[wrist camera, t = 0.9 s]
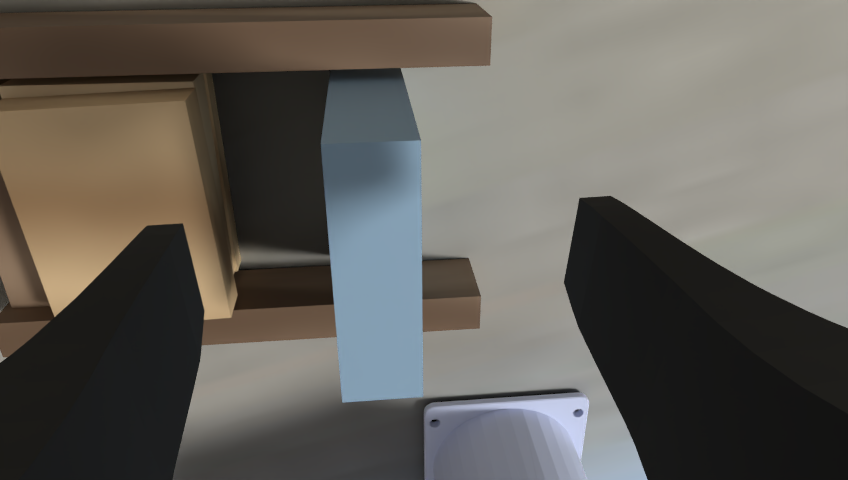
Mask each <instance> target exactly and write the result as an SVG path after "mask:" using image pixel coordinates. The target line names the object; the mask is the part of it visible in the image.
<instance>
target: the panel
mask: <svg viewBox="0 0 848 480" xmlns="http://www.w3.org/2000/svg"><path fill="white" fill-rule="evenodd" d="M321 154H322V166H323V178H324V190H325V202H326V214H327V226H328V238H329V250H330V261H331V273H332V285H333V297H334V309H335V321H336V333H337V345H338V357H339V369H340V381H341V393H342V403H344V402H358V401H372V400H386V399H401V398H415V397H423V322H422V209H421V139H420V135H419V132H418V128H417V125H416V121H415V118H414V114H413V111H412V107H411V104H410V100H409V97H408V93H407V89H406V86H405V82H404V79H403V75H402V72H401V68H379V69H343V70H330V78H329V85H328V93H327V100H326V108H325V115H324V123H323V130H322V138H321Z"/></svg>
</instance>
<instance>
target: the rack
mask: <svg viewBox="0 0 848 480" xmlns="http://www.w3.org/2000/svg"><path fill="white" fill-rule="evenodd" d="M491 30H492V16H490V15H489V14H488V13H487V12H486V11H485V10H483V9H482V8H481V7H480V6H479V5H477V4H476V3H471V4H422V5H372V6H322V7H272V8H222V9H172V10H123V11H73V12H23V13H0V85H1V84H3V83H5V82H7V81H9V80H10V79H21V78H56V77H92V76H128V75H164V74H200V73H236V72H272V71H307V70H343V69H379V68H415V67H451V66H487V65H490V55H491ZM1 99H2V98H1V95H0V100H1ZM0 276H1V279H2V282H3V284H4V287H5V290H6V293H7V296H8V298H9V301H10V302H9V303H8V304H7V306H6V307H5V308H4V309H3V310H2V311H1V313H0V350H1V353H2V355H3V357H9V356H10V355H11V354H13V353H14V352H15V351H16V350H17V349H19V348H20V347H21V346H22V345H24V344H25V343H26V342H27V341H28V340H30V339H31V338H32V337H33V336H34V335H35V334H37V333H38V332H39V331H40V330H41V329H42V328H43V327H44V326H45V325H46V324H48V323H49V322H50V321H51V320H52V319H53V318H54V314H53V312H52V309H51V306H50V304H49V301H48V298H47V296H46V293H45V290H44V287H43V285H42V282H41V279H40V277H39V274H38V271H37V268H36V266H35V263H34V260H33V258H32V255H31V252H30V250H29V247H28V244H27V241H26V239H25V236H24V233H23V231H22V228H21V225H20V223H19V220H18V217H17V214H16V212H15V209H14V206H13V204H12V201H11V198H10V195H9V193H8V190H7V187H6V185H5V182H4V179H3V177H2V174H1V171H0ZM234 279H235V284H236V289H237V294H238V296H237V299H236V303H235V306H234V310H233V313H232V316H231V318H221V319H209V320H204V324H203V336H202V345H213V344H229V343H246V342H262V341H279V340H295V339H312V338H328V337H337V333H336V321H335V309H334V297H333V285H332V273H331V266H313V267H294V268H275V269H256V270H238V271H235V272H234ZM480 303H481V295H480V292H479V289H478V286H477V283H476V280H475V277H474V273H473V270H472V267H471V264H470V261H469V258H467V259H448V260H429V261H422V322H423V332H427V331H443V330H460V329H476V328H480Z"/></svg>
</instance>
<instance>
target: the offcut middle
mask: <svg viewBox="0 0 848 480" xmlns="http://www.w3.org/2000/svg"><path fill="white" fill-rule="evenodd" d="M179 88H196V92H197V97H198V102H199V107H200V112H201V117H202V121H203V126H204V131H205V136H206V141H207V146H208V151H209V156H210V161H211V166H212V171H213V176H214V181H215V186H216V191H217V196H218V200H219V205H220V210H221V215H222V220H223V225H224V230H225V235H226V240H227V245H228V250H229V255H230V260H231V265H232V270H233V274H234V265H233V259H232V253H231V246H230V240H229V234H228V227H227V221H226V215H225V208H224V202H223V196H222V189H221V183H220V177H219V170H218V164H217V158H216V151H215V145H214V139H213V132H212V126H211V120H210V113H209V107H208V101H207V94H206V88H205V82H204V75H203V73H200V74H164V75H128V76H92V77H56V78H21V79H10V80H9V81H7V82H5V83H3V84H1V85H0V95H1V98H2V99H4V98H22V97H39V96H57V95H74V94H92V93H109V92H126V91H144V90H161V89H179Z"/></svg>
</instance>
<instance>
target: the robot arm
mask: <svg viewBox="0 0 848 480" xmlns="http://www.w3.org/2000/svg"><path fill="white" fill-rule="evenodd" d="M564 284H565V287H566V290H567V294H568V297H569V300H570V303H571V307H572V310H573V313H574V316H575V318H576V321H577V324H578V327H579V329H580V331H581V334H582V336H583V338H584V340H585V342H586V344H587V346H588V348H589V350H590V352H591V354H592V356H593V358H594V361H595V363H596V365H597V367H598V369H599V371H600V373H601V375H602V377H603V379H604V381H605V383H606V385H607V387H608V389H609V391H610V393H611V395H612V397H613V399H614V401H615V403H616V405H617V407H618V409H619V411H620V413H621V415H622V417H623V419H624V421H625V423H626V425H627V428H628V430H629V432H630V435H631V437H632V439H633V441H634V444H635V446H636V449H637V452H638V454H639V457H640V460H641V463H642V465H643V468H644V471H645V474H646V476H647V479H648V480H848V328H846V327H843V326H841V325H838V324H836V323H833V322H831V321H828V320H826V319H824V318H822V317H819V316H817V315H815V314H812V313H810V312H808V311H806V310H804V309H802V308H800V307H798V306H795V305H793V304H791V303H789V302H787V301H785V300H783V299H781V298H779V297H777V296H775V295H773V294H771V293H769V292H767V291H765V290H763V289H761V288H759V287H757V286H755V285H754V284H752V283H750V282H748V281H746V280H745V279H743V278H741V277H739V276H738V275H736V274H734V273H732V272H731V271H729V270H727V269H726V268H724V267H722V266H720V265H719V264H717V263H715V262H714V261H712V260H710V259H709V258H707V257H706V256H704V255H702V254H701V253H699V252H698V251H696V250H694V249H693V248H691V247H690V246H688V245H687V244H685V243H683V242H682V241H680V240H679V239H677V238H676V237H674V236H673V235H671V234H670V233H668V232H667V231H665V230H664V229H662V228H661V227H659V226H658V225H656V224H655V223H653V222H652V221H650V220H649V219H647V218H646V217H644V216H643V215H641V214H639V213H638V212H636V211H635V210H633V209H632V208H630V207H629V206H627V205H625V204H624V203H622V202H621V201H619V200H617V199H615V198H613V197H612V196H604V197H588V198H580V199H579V204H578V210H577V215H576V221H575V226H574V231H573V237H572V242H571V247H570V253H569V258H568V264H567V269H566V274H565V280H564ZM204 312H205V311H204V306H203V302H202V298H201V294H200V290H199V286H198V282H197V278H196V274H195V270H194V266H193V262H192V258H191V254H190V249H189V245H188V241H187V237H186V233H185V229H184V225H183V223H179V224H163V225H148V226H146V227H145V228H144V229H143V230H142V231H141V232H140V233H139V234H138V235H137V236H136V237H135V238H134V239H133V240H132V241H131V242H130V243H129V244H128V245H127V246H126V247H125V248H124V249H123V250H122V252H121V253H120V254H119V255H118V256H117V257H116V258H115V259H114V260H113V261H112V262H111V263H110V264H109V265H108V266H107V267H106V268H105V269H104V270H103V271H102V272H101V273H100V274H99V275H98V276H97V277H96V278H95V279H94V280H93V281H92V282H91V283H90V284H89V285H88V286H87V287H86V288H85V289H84V290H83V291H82V292H81V293H80V294H79V295H78V296H77V297H76V298H75V299H74V300H73V301H72V302H71V303H70V304H69V305H67V306H66V307H65V308H64V309H63V310H62V311H61V312H60V313H59V314H57V315H56V316H55V317H54V318H53V319H52V320H51V321H50V322H49V323H48V324H46V325H45V326H44V327H43V328H42V329H41V330H40V331H39V332H38V333H37V334H35V335H34V336H33V337H32V338H31V339H30V340H28V341H27V342H26V343H25V344H24V345H22V346H21V347H20V348H19V349H17V350H16V351H15V352H14V353H13V354H11V355H10V356H9V357H8V358H6V359H5V360H4V361H2V362H1V363H0V480H172V479H173V473H174V469H175V464H176V460H177V456H178V452H179V448H180V444H181V439H182V435H183V431H184V427H185V423H186V418H187V414H188V410H189V406H190V402H191V397H192V393H193V389H194V385H195V380H196V376H197V372H198V367H199V362H200V356H201V346H202V336H203V324H204ZM588 408H589V400H588V398H587V396H586V395H585V394H584V393H580V392H576V393H562V394H547V395H533V396H519V397H504V398H490V399H476V400H461V401H447V402H434V403H430V404H428V405H427V406H426V407H425V408H424V480H588V478H587V476H586V473H585V471H584V468H583V466H582V463H581V456H582V449H583V442H584V435H585V428H586V421H587V415H588ZM577 409H580V410H579V411H576V412H574V411H575V410H577ZM434 419H437V420H438V421H435V422H431V421H432V420H434Z"/></svg>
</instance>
